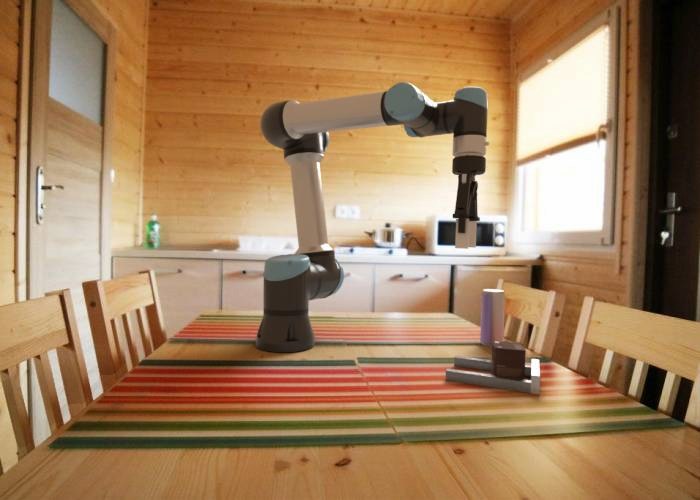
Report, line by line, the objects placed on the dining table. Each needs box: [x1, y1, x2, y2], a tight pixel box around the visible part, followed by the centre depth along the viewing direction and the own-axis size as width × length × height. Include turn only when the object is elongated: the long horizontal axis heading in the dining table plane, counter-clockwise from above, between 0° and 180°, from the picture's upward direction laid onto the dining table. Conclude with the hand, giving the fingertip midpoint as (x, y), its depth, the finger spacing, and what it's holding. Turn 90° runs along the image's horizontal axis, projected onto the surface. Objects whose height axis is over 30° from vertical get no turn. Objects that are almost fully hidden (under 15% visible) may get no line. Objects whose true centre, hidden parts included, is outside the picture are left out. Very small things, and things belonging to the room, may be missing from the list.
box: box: [490, 341, 527, 380], centre depth 87 cm, size 6×6×7 cm
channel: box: [445, 355, 541, 395], centre depth 88 cm, size 18×12×4 cm
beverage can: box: [479, 288, 506, 348], centre depth 116 cm, size 6×6×15 cm
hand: (466, 248), depth 100 cm, fingers open, 13 cm apart
